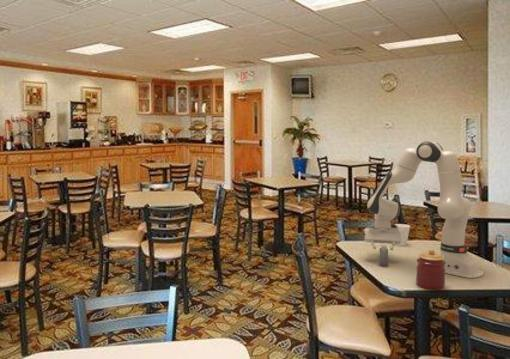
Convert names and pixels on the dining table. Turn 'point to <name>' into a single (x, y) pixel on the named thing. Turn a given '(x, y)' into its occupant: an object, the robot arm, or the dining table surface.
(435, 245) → the dining table surface
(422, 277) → the canister
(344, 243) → the dining table surface
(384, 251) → the connector casing
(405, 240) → the foam cup
